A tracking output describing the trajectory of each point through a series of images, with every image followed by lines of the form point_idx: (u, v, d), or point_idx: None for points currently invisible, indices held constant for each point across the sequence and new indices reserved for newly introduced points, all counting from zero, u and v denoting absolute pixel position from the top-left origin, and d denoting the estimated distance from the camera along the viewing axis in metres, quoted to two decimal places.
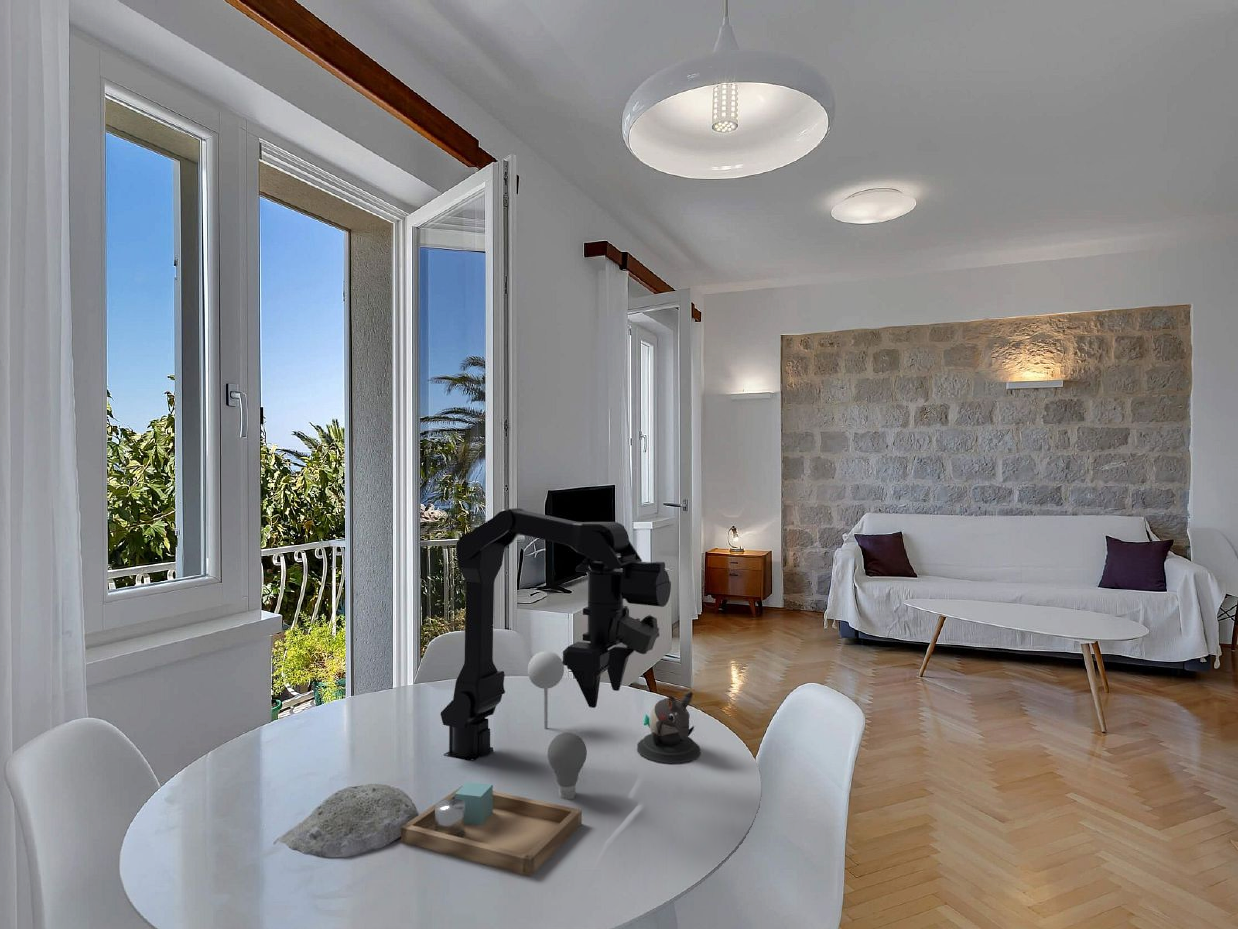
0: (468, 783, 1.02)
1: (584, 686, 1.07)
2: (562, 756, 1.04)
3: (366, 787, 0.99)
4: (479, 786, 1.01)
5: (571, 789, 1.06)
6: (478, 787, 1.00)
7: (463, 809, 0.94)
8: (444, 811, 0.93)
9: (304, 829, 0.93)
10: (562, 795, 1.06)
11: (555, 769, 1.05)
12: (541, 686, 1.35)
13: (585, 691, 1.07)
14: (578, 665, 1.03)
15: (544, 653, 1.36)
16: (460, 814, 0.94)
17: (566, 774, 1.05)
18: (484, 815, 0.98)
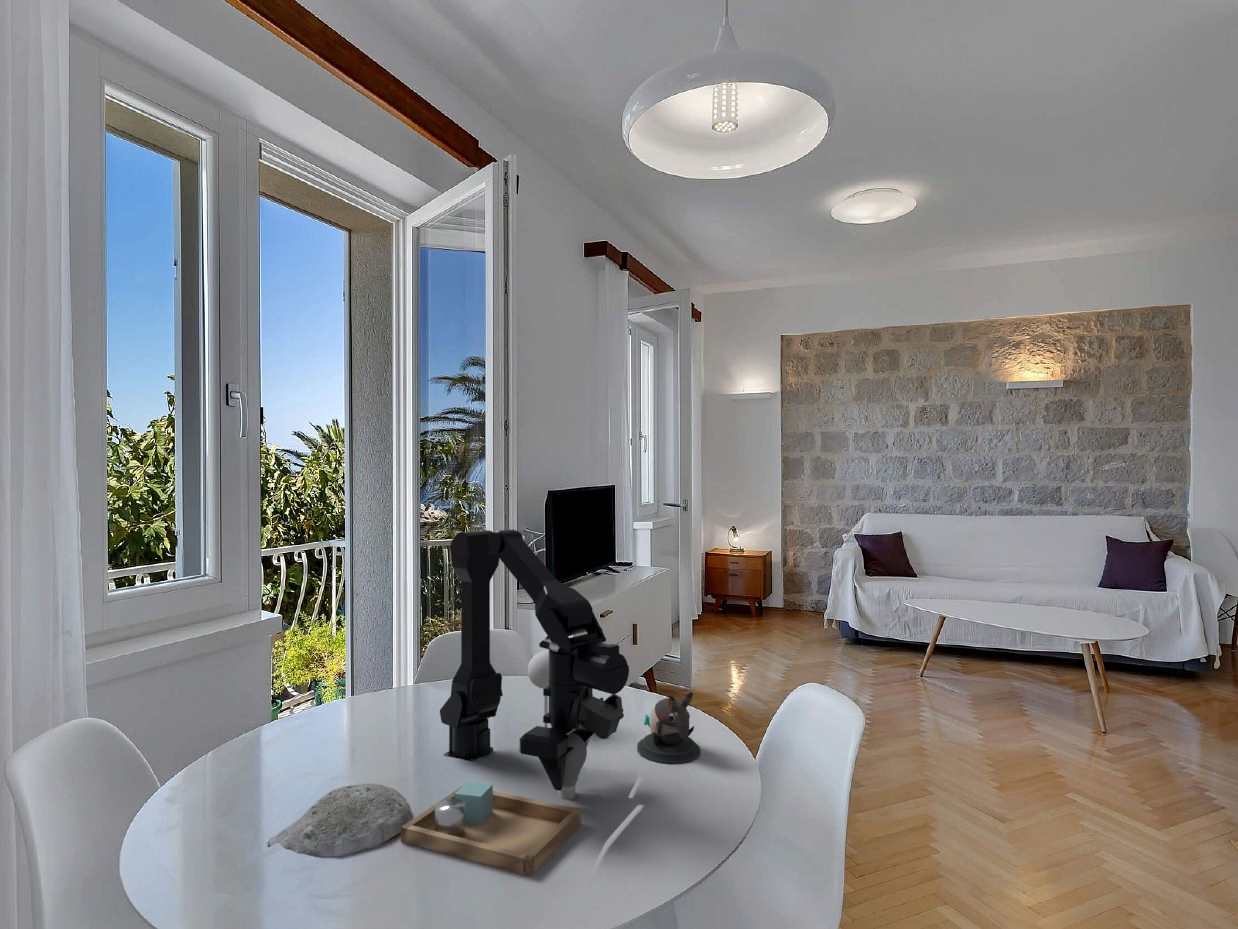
0: (468, 783, 1.02)
1: (549, 769, 1.03)
2: None
3: (360, 787, 0.99)
4: (479, 786, 1.01)
5: (571, 789, 1.06)
6: (478, 787, 1.00)
7: (463, 809, 0.94)
8: (444, 811, 0.93)
9: (297, 829, 0.93)
10: (562, 795, 1.06)
11: None
12: (541, 686, 1.35)
13: (550, 773, 1.04)
14: (535, 754, 0.98)
15: (544, 653, 1.36)
16: (460, 814, 0.94)
17: (566, 774, 1.05)
18: (484, 815, 0.98)
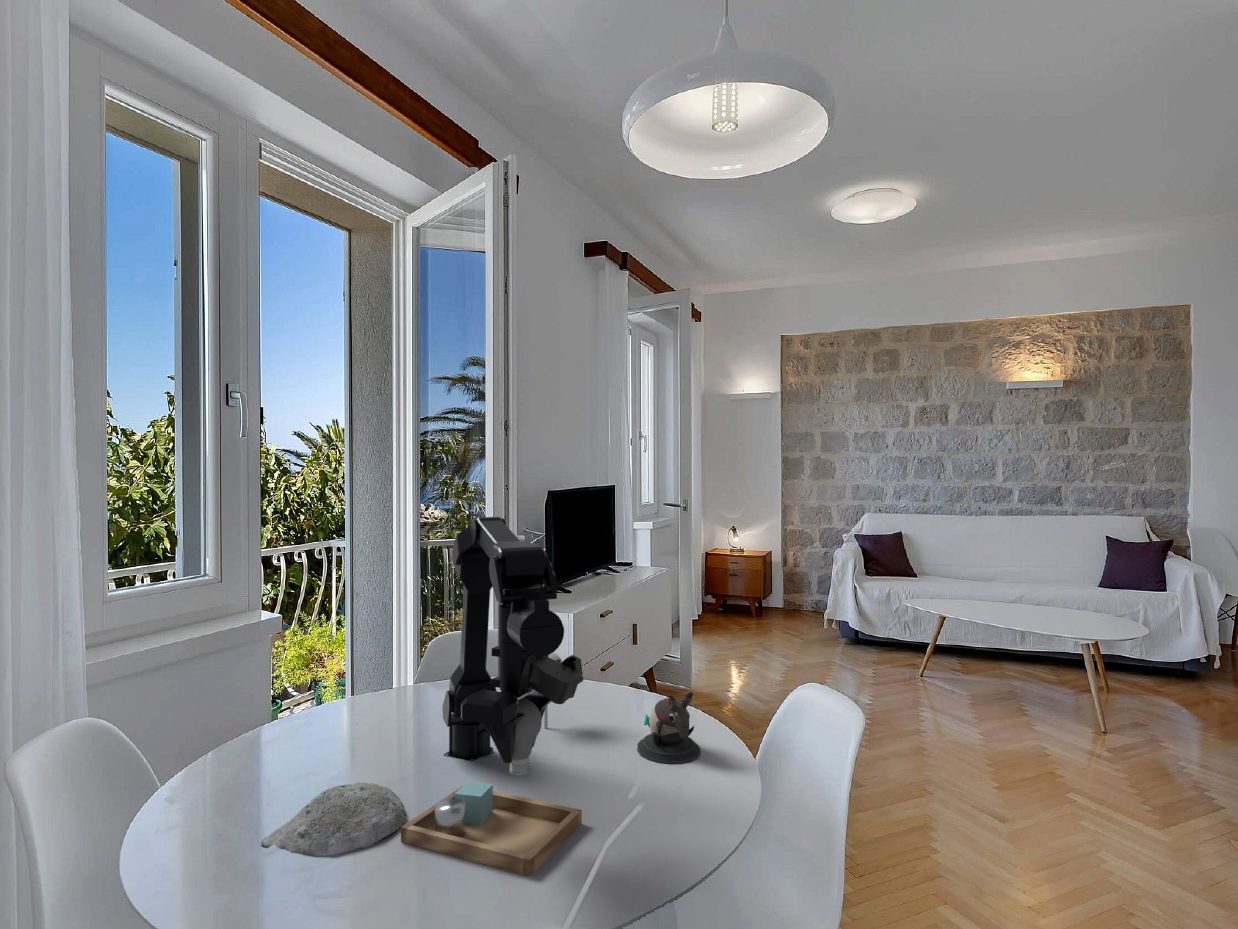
0: (468, 783, 1.02)
1: (497, 738, 0.91)
2: None
3: (354, 786, 0.99)
4: (479, 786, 1.01)
5: (523, 763, 0.93)
6: (478, 787, 1.00)
7: (463, 809, 0.94)
8: (444, 811, 0.93)
9: (291, 828, 0.93)
10: (513, 769, 0.93)
11: None
12: None
13: (498, 744, 0.91)
14: (477, 720, 0.86)
15: None
16: (460, 814, 0.94)
17: (517, 745, 0.92)
18: (484, 815, 0.98)
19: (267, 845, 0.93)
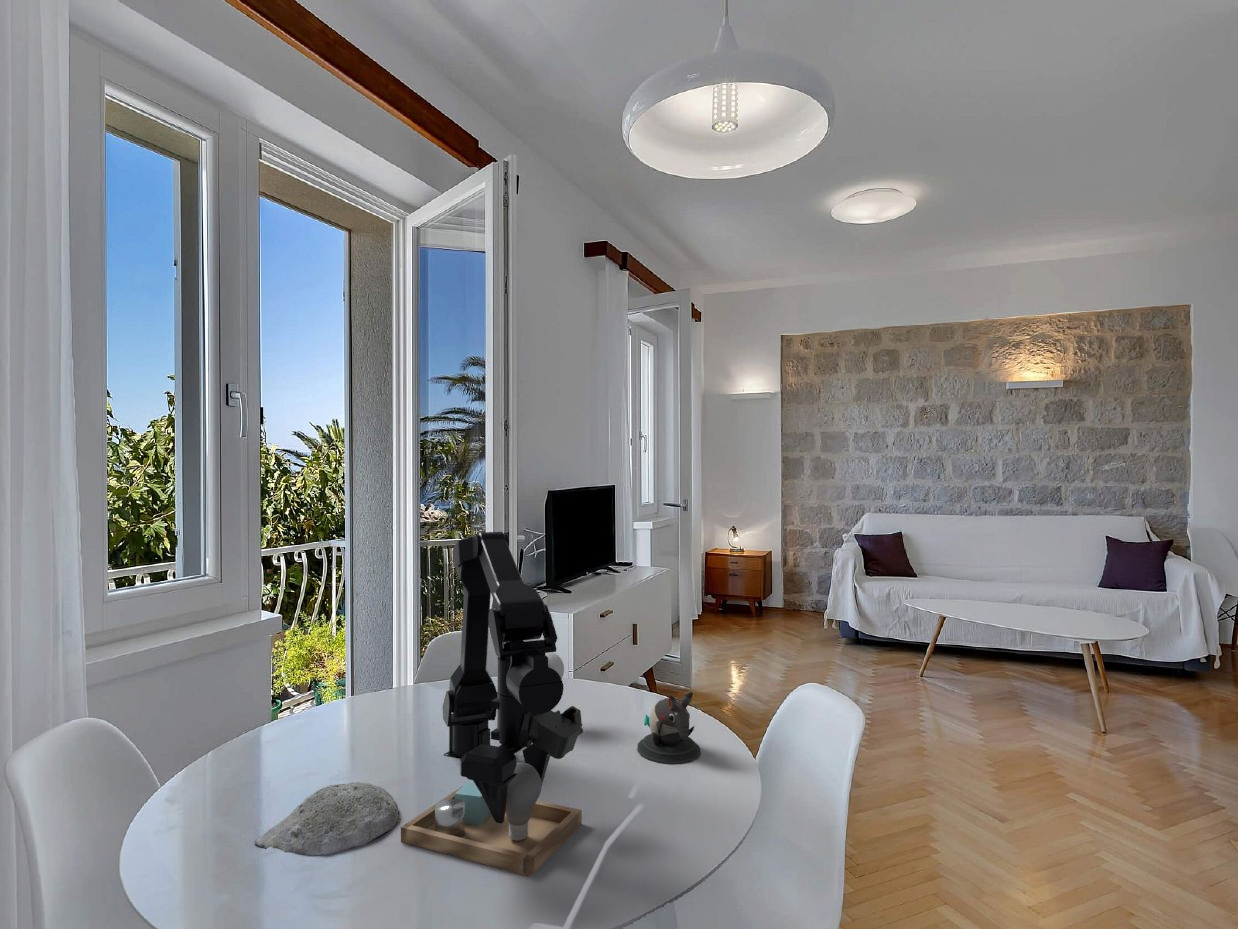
0: (468, 783, 1.02)
1: (488, 798, 0.89)
2: (512, 792, 0.91)
3: (347, 786, 1.00)
4: None
5: (522, 828, 0.93)
6: None
7: (463, 809, 0.94)
8: (444, 811, 0.93)
9: (285, 827, 0.93)
10: (512, 835, 0.93)
11: None
12: None
13: (490, 803, 0.89)
14: (477, 777, 0.86)
15: None
16: (460, 814, 0.94)
17: (517, 811, 0.92)
18: (484, 815, 0.98)
19: (260, 844, 0.93)
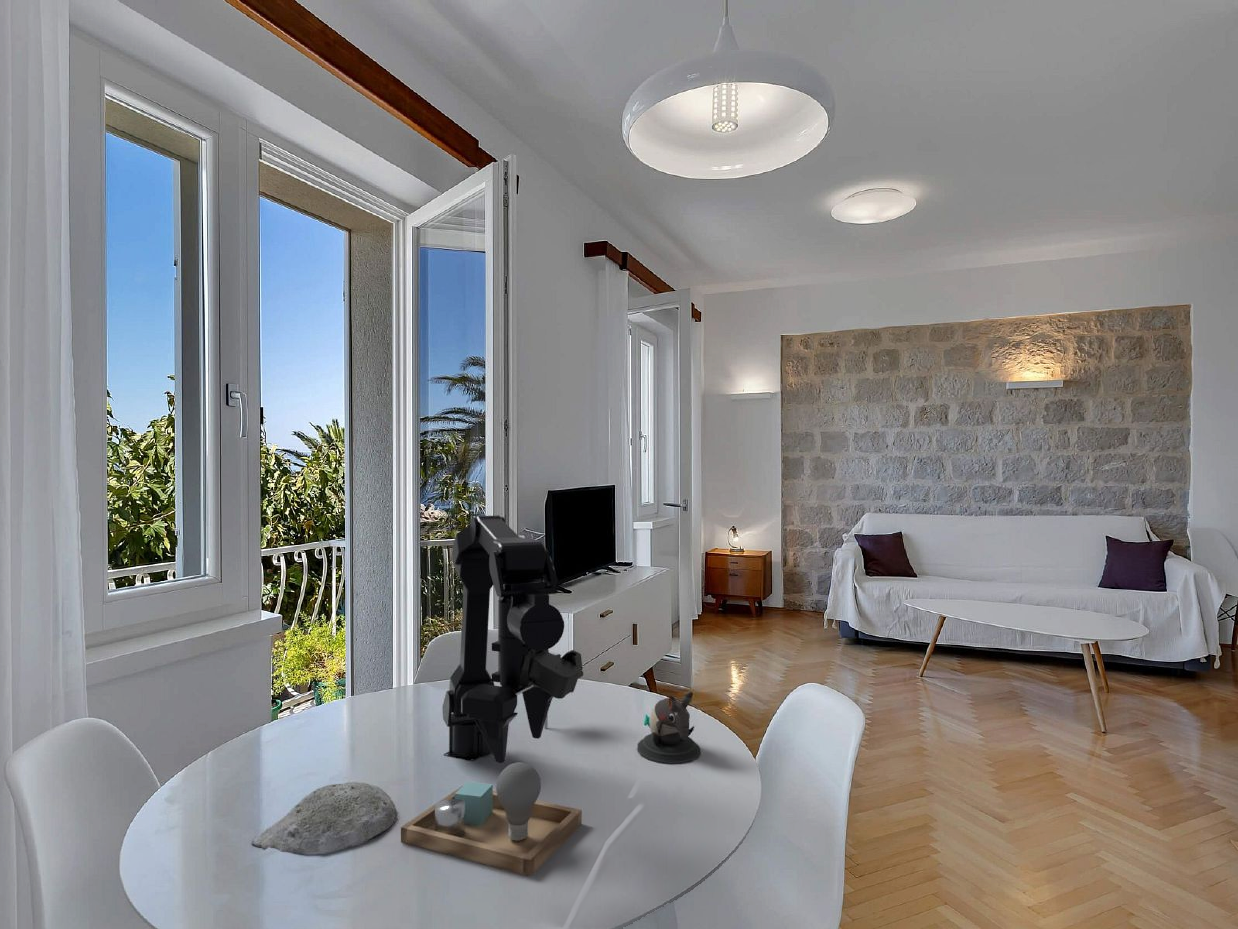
0: (468, 783, 1.02)
1: (489, 737, 0.89)
2: (511, 791, 0.91)
3: (344, 785, 1.00)
4: (479, 786, 1.01)
5: (522, 828, 0.93)
6: (478, 787, 1.00)
7: (463, 809, 0.94)
8: (444, 811, 0.93)
9: (282, 827, 0.93)
10: (512, 835, 0.93)
11: (504, 805, 0.92)
12: None
13: (490, 743, 0.90)
14: (478, 714, 0.86)
15: None
16: (460, 814, 0.94)
17: (516, 811, 0.92)
18: (484, 815, 0.98)
19: (257, 844, 0.93)
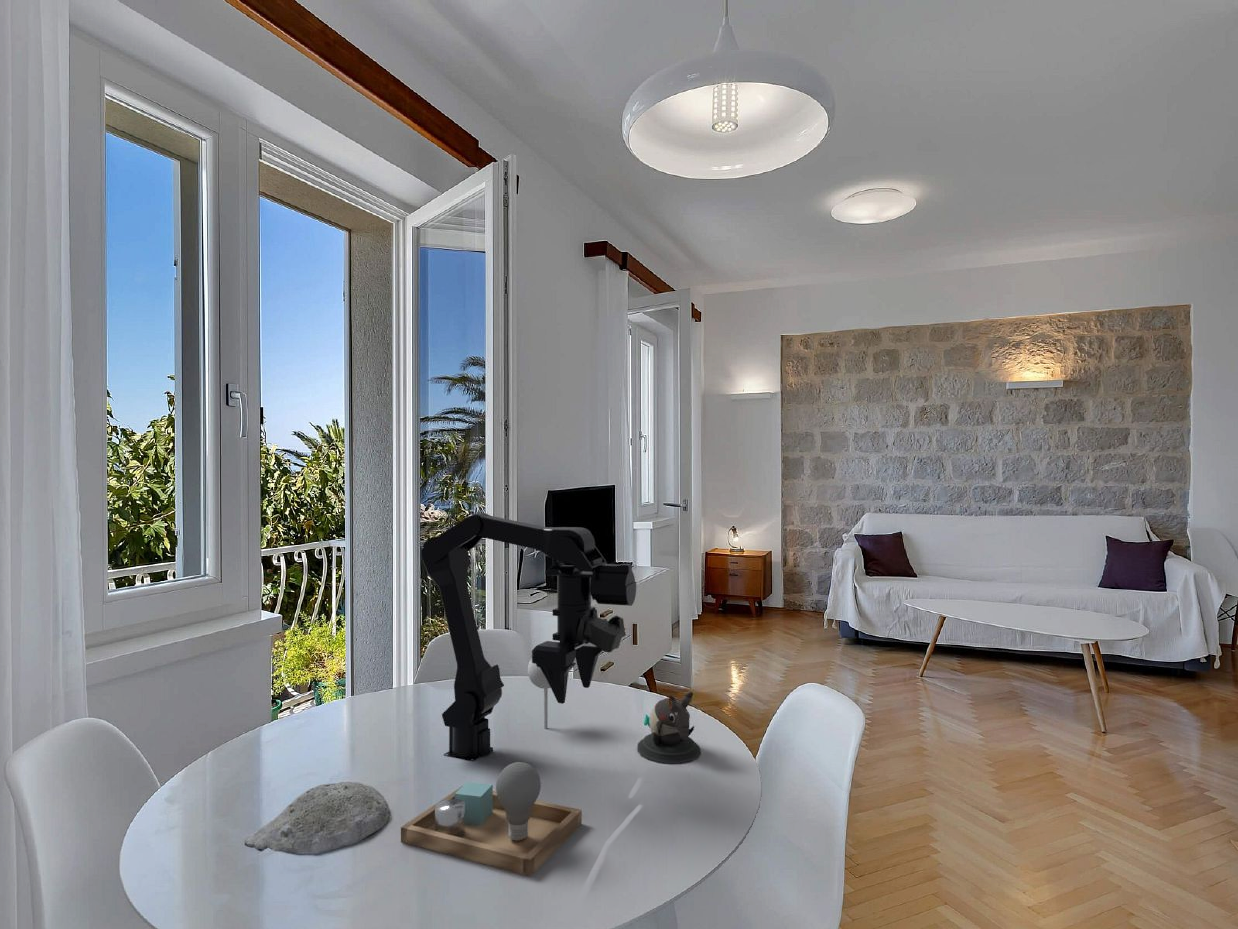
0: (468, 783, 1.02)
1: (553, 683, 1.13)
2: (511, 791, 0.91)
3: (338, 785, 1.00)
4: (479, 786, 1.01)
5: (522, 827, 0.93)
6: (478, 787, 1.00)
7: (463, 809, 0.94)
8: (444, 811, 0.93)
9: (275, 827, 0.93)
10: (512, 834, 0.93)
11: (504, 805, 0.92)
12: (541, 686, 1.35)
13: (554, 687, 1.13)
14: (546, 663, 1.09)
15: None
16: (460, 814, 0.94)
17: (516, 811, 0.92)
18: (484, 815, 0.98)
19: (250, 844, 0.93)
